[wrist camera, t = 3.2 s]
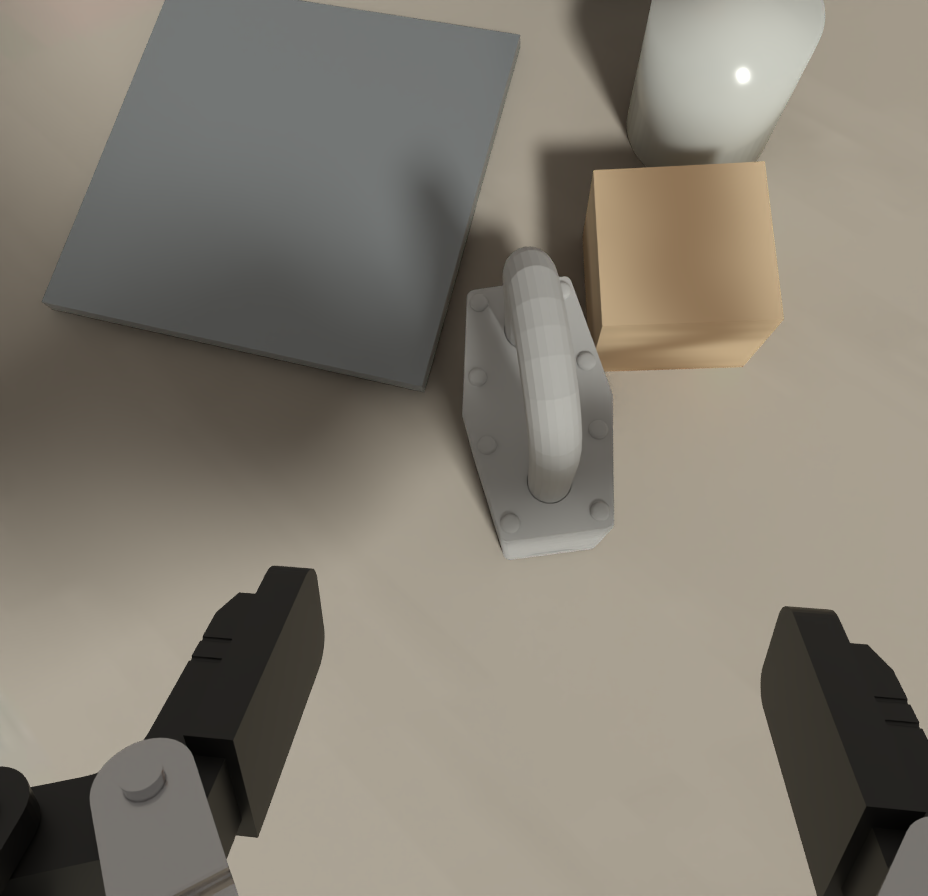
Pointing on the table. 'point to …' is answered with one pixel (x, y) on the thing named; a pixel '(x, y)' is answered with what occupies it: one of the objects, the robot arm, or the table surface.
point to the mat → (291, 184)
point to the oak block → (680, 266)
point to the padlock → (538, 411)
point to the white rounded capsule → (717, 77)
